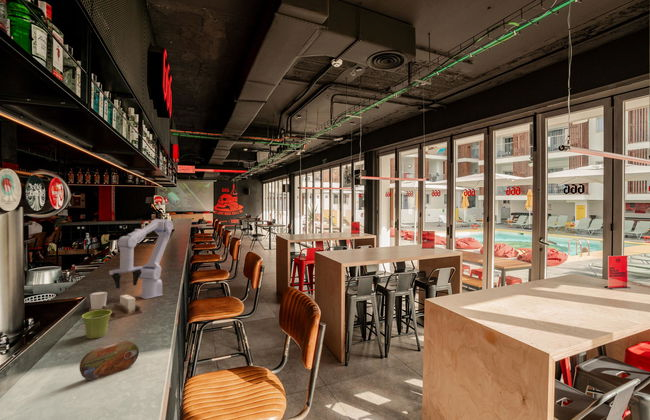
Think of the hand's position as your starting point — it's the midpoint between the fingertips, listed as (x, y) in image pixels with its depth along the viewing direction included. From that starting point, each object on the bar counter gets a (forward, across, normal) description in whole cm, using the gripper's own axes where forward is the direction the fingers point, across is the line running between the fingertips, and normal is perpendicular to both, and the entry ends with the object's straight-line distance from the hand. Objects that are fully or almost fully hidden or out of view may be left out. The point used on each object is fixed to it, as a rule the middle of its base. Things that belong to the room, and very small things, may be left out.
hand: (126, 286), depth 154 cm
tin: (+10, -29, -63) cm, 70 cm away
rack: (+9, -8, -10) cm, 16 cm away
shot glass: (+10, -10, +6) cm, 15 cm away
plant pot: (+10, -22, -30) cm, 38 cm away
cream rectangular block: (+8, -4, -10) cm, 14 cm away
